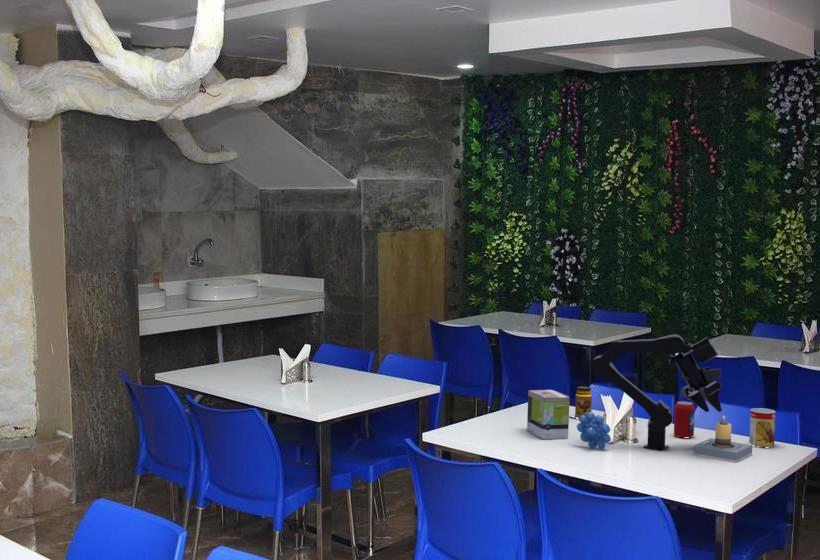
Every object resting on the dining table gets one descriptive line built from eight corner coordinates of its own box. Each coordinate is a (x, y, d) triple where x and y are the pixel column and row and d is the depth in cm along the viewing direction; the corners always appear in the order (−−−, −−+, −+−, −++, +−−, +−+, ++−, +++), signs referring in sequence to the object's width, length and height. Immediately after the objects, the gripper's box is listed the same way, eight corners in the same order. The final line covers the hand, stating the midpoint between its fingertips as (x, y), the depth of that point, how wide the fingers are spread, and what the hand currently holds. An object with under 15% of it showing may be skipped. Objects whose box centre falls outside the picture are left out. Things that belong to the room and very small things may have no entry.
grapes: (571, 448, 311) (572, 412, 310) (578, 444, 317) (579, 409, 316) (606, 453, 305) (607, 416, 305) (612, 449, 311) (613, 413, 310)
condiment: (583, 421, 354) (583, 389, 354) (566, 417, 361) (567, 386, 360) (596, 419, 359) (597, 387, 358) (580, 415, 365) (581, 384, 365)
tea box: (569, 438, 325) (570, 396, 324) (542, 440, 323) (543, 397, 322) (552, 429, 340) (553, 388, 339) (526, 430, 337) (527, 389, 336)
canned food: (778, 448, 316) (780, 412, 316) (756, 448, 315) (758, 413, 314) (766, 442, 324) (767, 407, 323) (744, 443, 323) (746, 408, 322)
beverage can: (696, 439, 327) (697, 404, 327) (676, 438, 328) (677, 404, 327) (690, 434, 334) (691, 401, 333) (671, 434, 334) (672, 400, 334)
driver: (727, 455, 303) (728, 418, 302) (712, 453, 306) (713, 416, 305) (732, 452, 307) (734, 416, 306) (718, 450, 310) (719, 413, 309)
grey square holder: (736, 462, 296) (736, 452, 296) (693, 454, 305) (693, 445, 305) (752, 454, 307) (752, 444, 307) (710, 447, 316) (710, 437, 316)
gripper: (722, 356, 302) (747, 398, 301) (697, 359, 320) (720, 399, 319) (694, 373, 300) (719, 416, 299) (670, 375, 318) (694, 416, 317)
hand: (714, 411), depth 309 cm, fingers open, 9 cm apart
